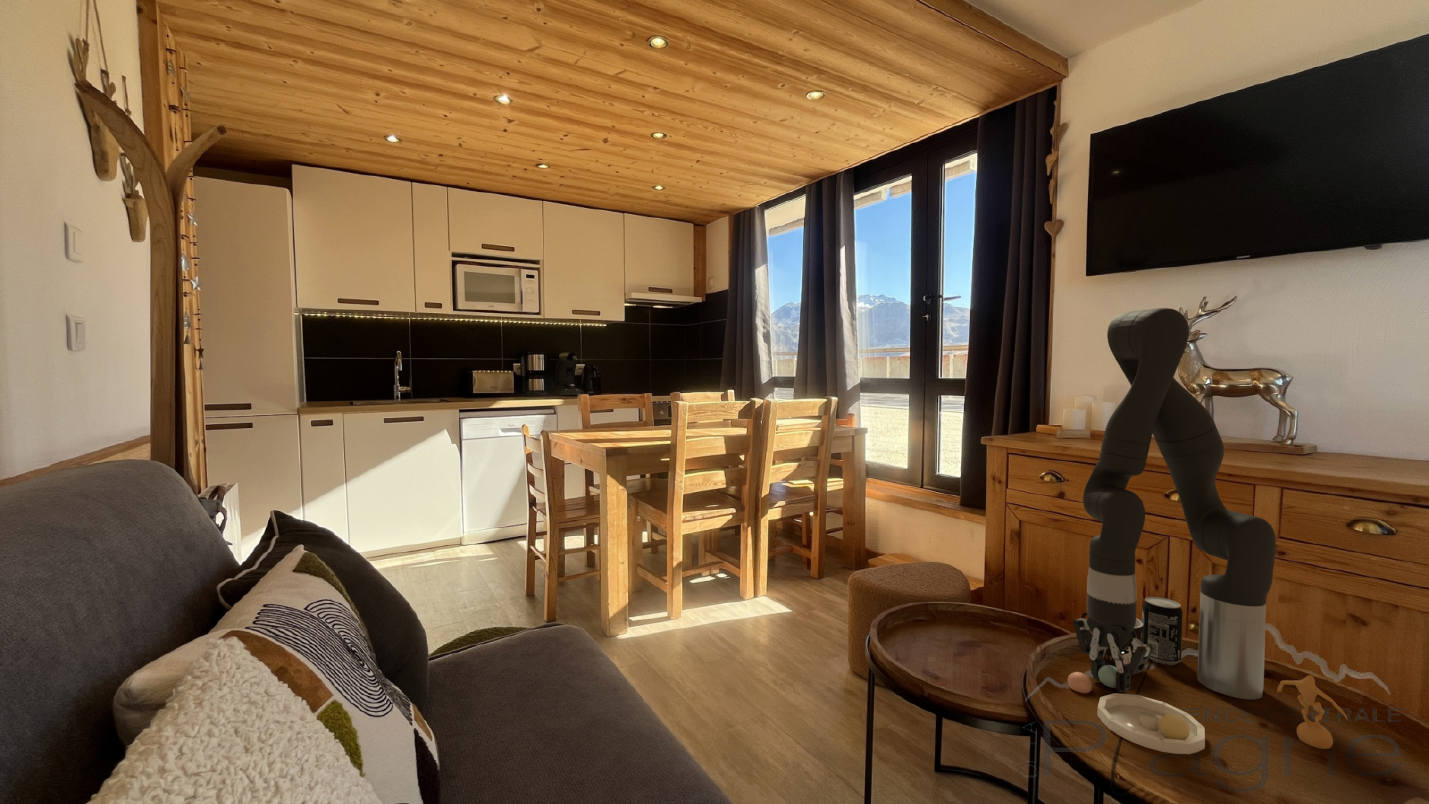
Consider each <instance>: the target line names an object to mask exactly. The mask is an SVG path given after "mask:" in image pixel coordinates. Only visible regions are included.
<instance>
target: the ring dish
mask: <svg viewBox="0 0 1429 804" xmlns="http://www.w3.org/2000/svg"><path fill="white" fill-rule="evenodd" d="M1096 712H1097V714H1096V715H1097V718H1098V719H1099V720H1100V721H1101V723H1103V724H1104V726H1105V727H1107V729H1108V730H1110V731H1111V732H1113V733H1115V734H1116V735H1118V736H1119V737H1120V738H1121V737H1122V738H1123V739H1125V740H1127V741H1129V742H1131V743H1133V744H1137V745H1139V746H1142V747H1144V748H1148V749H1151V750H1155V751H1158V752H1162V753H1168V754H1176V755H1179V754H1180V755H1191V754H1195V753H1199V752H1200V751H1202V750H1205V748H1206V735H1205V731H1206V730H1205V727H1204V725H1202V723H1200V722H1199V720H1198V721H1197V720H1196V719H1195V718H1194V717H1193V716H1192V715H1191V714H1189V713H1188V712H1186V711H1184V710H1181V709H1180V708H1178V707H1175V706H1173V705H1171V704H1169V703H1167V702H1165V701H1160V700H1157V699H1153V698H1150V697H1147V696H1143V695H1139V694H1128V693H1120V692H1118V693H1116V692H1115V693H1111V694H1108V695H1104V696H1100V697H1099V701H1098V705H1097V711H1096ZM1166 714H1174V715H1177V716H1179V717H1181V718H1182V719H1183V720H1184V721H1185V722H1186V723H1187V725H1188V727H1189V731H1190V733H1189V736H1188V738H1187V739H1186V740H1175V739H1169V738H1167V737H1166V736H1165V735H1164V734H1163V733H1162V731H1161V730H1160V727H1159V721H1160V718H1161V717H1162V716H1164V715H1166Z"/></svg>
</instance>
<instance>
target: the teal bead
mask: <svg viewBox="0 0 1429 804" xmlns="http://www.w3.org/2000/svg"><path fill="white" fill-rule="evenodd" d="M1116 671H1117V668H1116V667H1114V666H1111V665H1104V666H1102V667H1101V668H1100V669H1099V671H1098V676H1099V679H1100V681H1099V682H1101V683H1102V684H1103V685H1105V686H1106V687H1109V688H1113V689H1116Z"/></svg>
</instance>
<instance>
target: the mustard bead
mask: <svg viewBox="0 0 1429 804" xmlns="http://www.w3.org/2000/svg"><path fill="white" fill-rule="evenodd" d="M1159 727H1160V730H1161V731H1162V733H1163V734H1164V735H1165V736H1166V737H1167V738H1169V739H1175V740H1186V739H1187V738H1188V736H1189V733H1190V731H1189V727H1188V725H1187V723H1186V722H1185V721H1184V720H1183V719H1182V718H1181V717H1179V716H1177V715H1174V714H1166V715H1164V716H1162V717H1161V718H1160V721H1159Z"/></svg>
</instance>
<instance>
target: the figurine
mask: <svg viewBox="0 0 1429 804" xmlns="http://www.w3.org/2000/svg"><path fill="white" fill-rule="evenodd" d="M1285 685H1288V686H1296V689H1297V690H1298V693H1300V694H1299V695H1297V701H1298V702H1299V703H1300V704H1301V707H1303V708H1302V710H1301V714H1302V718H1303V720H1304V721H1303V722H1301V723H1300V724H1298V726H1297V727H1296V734H1297V735H1296V736H1297V737H1298V739H1299V741H1301V742H1302V743H1304V744H1306V745H1308V746H1311V747H1313V748H1316V749H1322V750H1329V749H1331V748H1332V746H1333V744H1334V739H1333V736H1332V734H1331V732H1330V731H1329V730H1328V729H1327V728H1326V727H1325V726H1324V725H1321V723H1320V721H1321V720H1322V719H1323V715H1324V714H1325V710H1324V709H1323V708H1322V704H1321V702H1320V701H1315V700H1316V697H1317V696H1318V695H1319V696H1320V697H1321V698H1323V699H1324V700H1326V701H1328V702H1329V703H1331V704H1332V705H1333V707H1334V708H1335V709H1336V710H1337V711H1338V712H1339V713H1341V715H1343V716H1344V718H1345V719H1346V721H1348V717H1347V715H1346V713H1345V711H1344V710H1343V709H1342V708H1341V707H1340V706H1339V705H1338V704H1337V703H1336V702H1335V700H1334V699H1332V698H1331V697H1330V696H1329V695H1327V694H1326V693H1324V692H1323V691H1322V690H1321V689H1320V688H1318V687H1317V686H1316V680H1315V678H1314V677H1313V676H1312V675H1306V676H1305V677H1304V678H1302V679H1300V680H1299V679H1298V680H1294V679H1293V680H1281V681H1279V685H1278V686H1277V689H1276V693H1277V694H1278V693H1281V694H1282V692H1283V691H1284V690H1283V687H1284V686H1285ZM1310 706H1311V707H1312V709H1313V710H1314V711H1315V712H1317V713H1318V714H1316V715H1315V716H1314V721H1312V720H1310V719H1309V718H1308V714H1309V707H1310Z"/></svg>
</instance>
